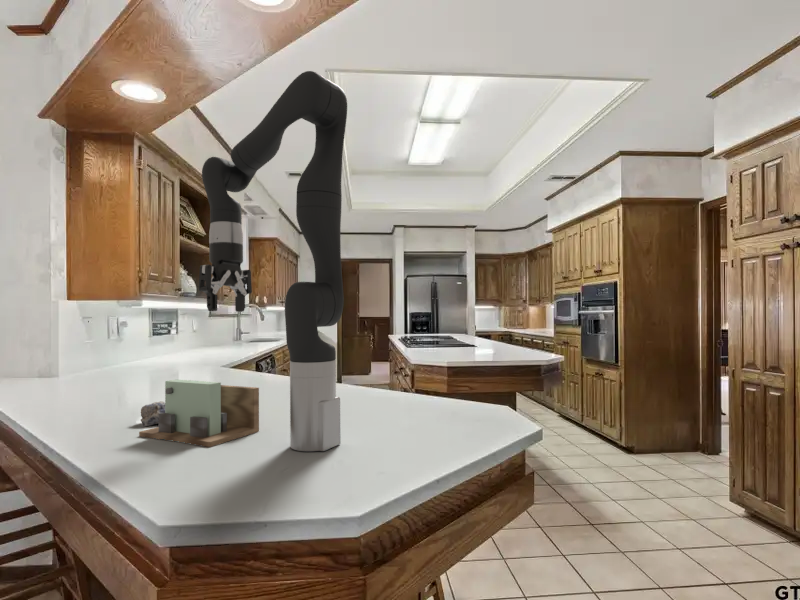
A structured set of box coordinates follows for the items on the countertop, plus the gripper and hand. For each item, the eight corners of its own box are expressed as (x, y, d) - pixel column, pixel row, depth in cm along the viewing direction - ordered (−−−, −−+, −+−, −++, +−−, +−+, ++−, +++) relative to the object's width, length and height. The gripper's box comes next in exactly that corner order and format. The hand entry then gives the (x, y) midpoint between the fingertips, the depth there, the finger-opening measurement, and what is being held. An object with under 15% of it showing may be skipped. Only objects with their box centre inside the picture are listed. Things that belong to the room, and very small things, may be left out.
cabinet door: (220, 432, 102) (220, 382, 103) (206, 437, 99) (206, 384, 99) (176, 427, 108) (176, 379, 109) (161, 430, 105) (161, 381, 105)
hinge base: (259, 431, 107) (258, 387, 108) (210, 447, 95) (210, 397, 95) (191, 423, 117) (191, 382, 117) (139, 436, 104) (139, 391, 105)
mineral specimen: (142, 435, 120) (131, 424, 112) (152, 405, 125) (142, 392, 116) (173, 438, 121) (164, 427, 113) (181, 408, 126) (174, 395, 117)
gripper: (214, 237, 103) (215, 310, 102) (259, 246, 116) (260, 311, 115) (190, 240, 106) (190, 311, 105) (236, 248, 119) (236, 312, 118)
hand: (226, 311), depth 110 cm, fingers open, 8 cm apart
